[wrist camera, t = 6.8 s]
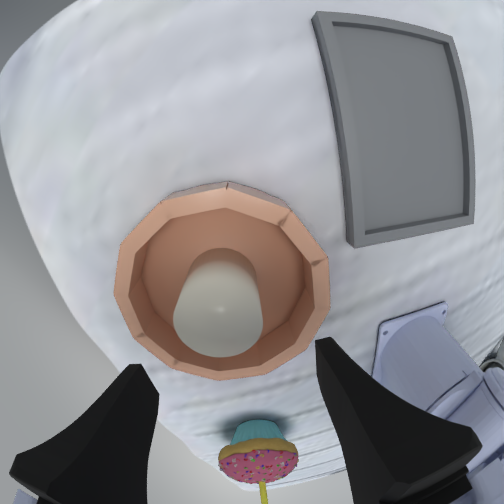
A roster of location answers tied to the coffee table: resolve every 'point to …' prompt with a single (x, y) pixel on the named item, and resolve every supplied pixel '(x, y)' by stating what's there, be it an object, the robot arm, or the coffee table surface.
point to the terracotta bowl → (232, 237)
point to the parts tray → (398, 127)
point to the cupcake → (258, 455)
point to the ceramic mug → (495, 360)
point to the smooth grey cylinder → (219, 304)
